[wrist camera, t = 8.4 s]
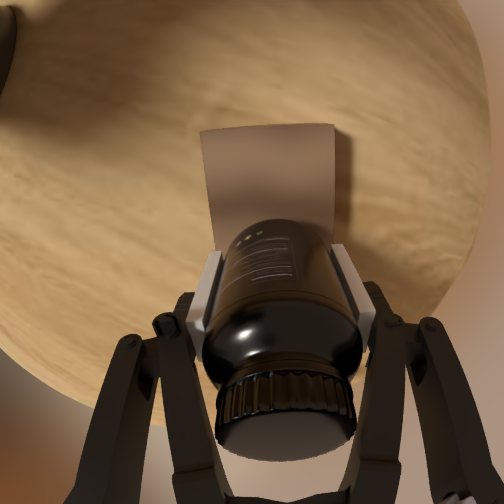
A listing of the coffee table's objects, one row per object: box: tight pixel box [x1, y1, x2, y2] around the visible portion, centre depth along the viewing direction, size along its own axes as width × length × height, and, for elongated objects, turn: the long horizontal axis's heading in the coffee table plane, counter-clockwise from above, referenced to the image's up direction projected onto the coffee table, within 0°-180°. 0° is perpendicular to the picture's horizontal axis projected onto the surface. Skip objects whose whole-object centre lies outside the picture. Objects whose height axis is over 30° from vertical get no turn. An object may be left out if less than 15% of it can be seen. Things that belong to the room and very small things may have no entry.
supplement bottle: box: [202, 219, 363, 462], centre depth 13 cm, size 7×7×12 cm
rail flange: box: [200, 123, 335, 262], centre depth 19 cm, size 22×8×6 cm, turn 5°
